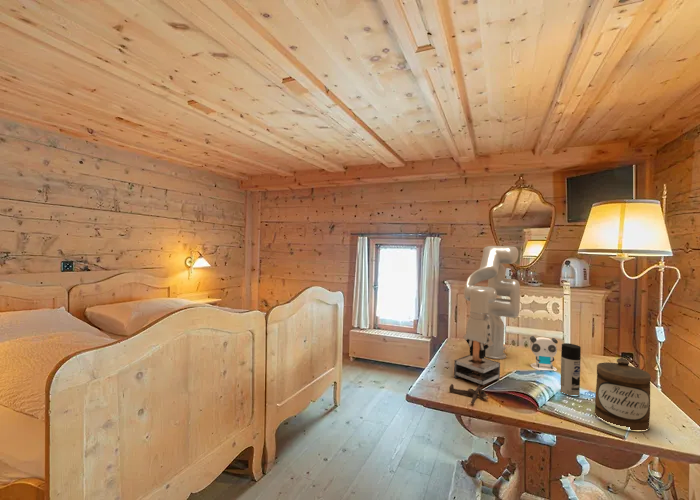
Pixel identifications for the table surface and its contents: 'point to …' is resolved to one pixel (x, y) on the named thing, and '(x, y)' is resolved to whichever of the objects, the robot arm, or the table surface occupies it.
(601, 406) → the wooden container
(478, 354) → the tube
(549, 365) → the panda figurine
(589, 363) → the table surface
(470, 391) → the bear figurine
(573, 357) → the spray can
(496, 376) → the frame
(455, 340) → the table surface
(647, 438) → the table surface
